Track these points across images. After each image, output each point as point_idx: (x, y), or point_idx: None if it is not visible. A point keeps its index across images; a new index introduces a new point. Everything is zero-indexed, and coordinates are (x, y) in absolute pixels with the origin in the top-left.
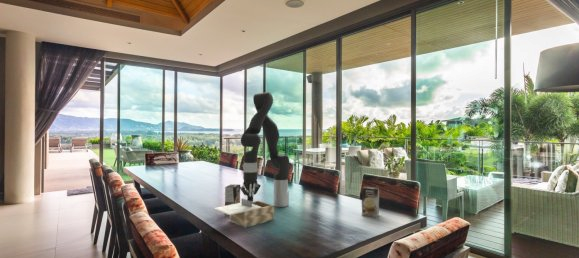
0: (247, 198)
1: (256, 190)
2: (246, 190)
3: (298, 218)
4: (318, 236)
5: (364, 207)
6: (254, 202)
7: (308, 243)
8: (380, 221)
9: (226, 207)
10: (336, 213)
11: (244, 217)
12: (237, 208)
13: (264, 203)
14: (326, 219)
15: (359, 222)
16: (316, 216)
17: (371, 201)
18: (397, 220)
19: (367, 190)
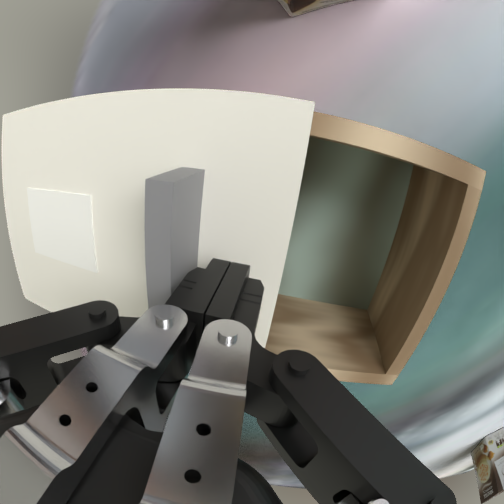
0: (173, 294)
1: (296, 460)
2: (93, 366)
3: (434, 375)
4: (281, 460)
5: (486, 456)
6: (426, 166)
7: None
8: (443, 466)
9: (39, 160)
10: (500, 404)
11: None
12: (77, 261)
13: (428, 294)
14: (441, 424)
15: (429, 459)
16: (469, 395)
17: (482, 475)
18: (453, 469)
19: (491, 493)
